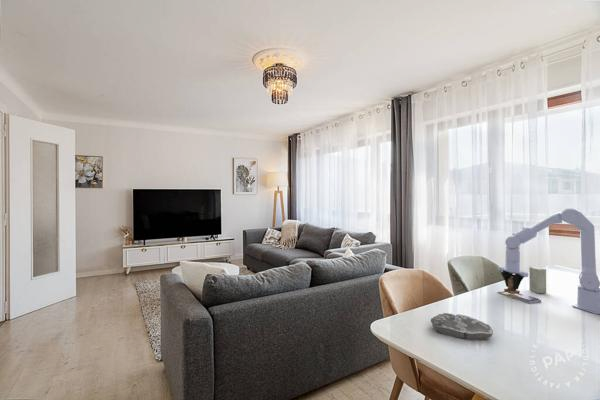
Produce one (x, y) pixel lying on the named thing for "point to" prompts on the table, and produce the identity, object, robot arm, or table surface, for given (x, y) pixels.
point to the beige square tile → (509, 294)
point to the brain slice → (461, 327)
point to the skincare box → (537, 279)
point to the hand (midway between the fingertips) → (512, 287)
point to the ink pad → (528, 299)
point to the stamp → (511, 287)
